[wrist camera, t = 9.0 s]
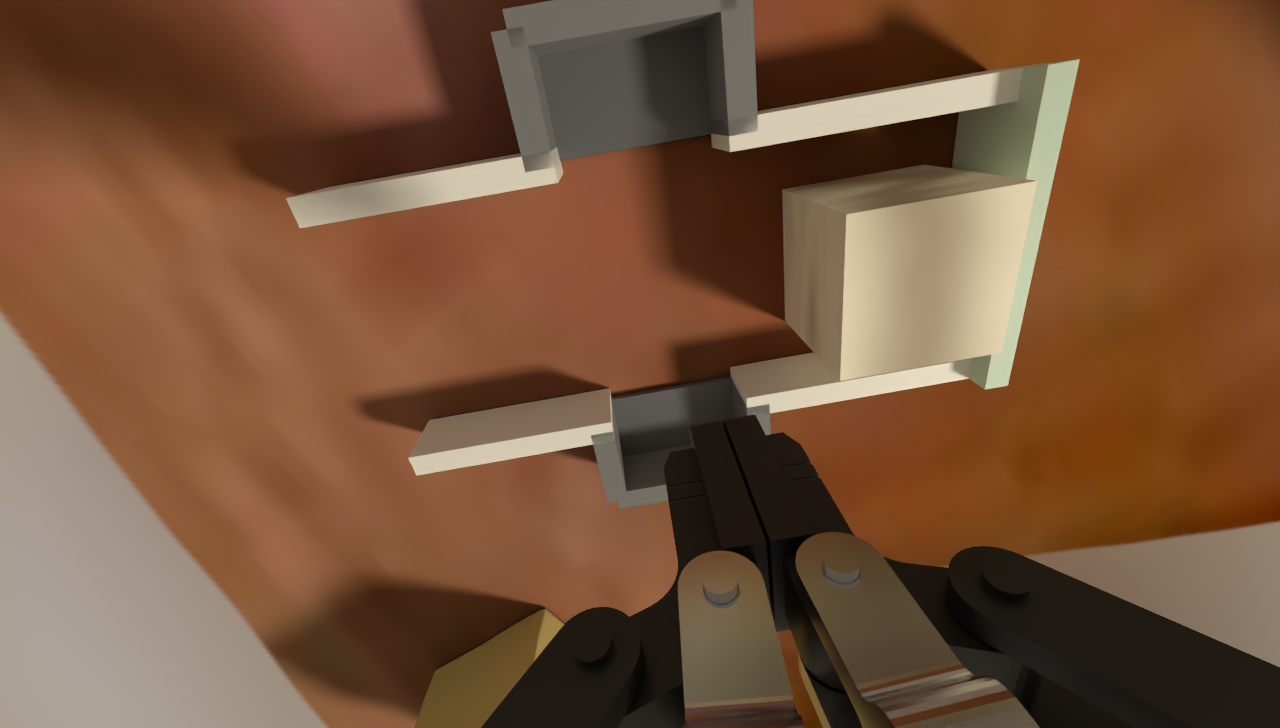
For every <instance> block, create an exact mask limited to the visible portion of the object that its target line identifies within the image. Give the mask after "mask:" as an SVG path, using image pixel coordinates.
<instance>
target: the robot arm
mask: <svg viewBox="0 0 1280 728" xmlns="http://www.w3.org/2000/svg"><path fill="white" fill-rule="evenodd" d="M689 433H690V440H691V446H692V448H690V449H684V450H678V451H673V452H670V454H669V456H668V459H667V461H666V464H665V466H664V468H663V469H664V475H665V481H666V487H667V494H668V500H669V507H670V513H671V519H672V526H673V532H674V538H675V545H676V551H677V557H678V573H677V576H676V580H675V582H674V584H673V586H672V587H671V589H670V590H669V591H668V593H667V594H666V595H665V596H664V597H663V598H662V599H660V600H659V601H658V602H657V603H655V604H653V605H652V606H650V607H648V608H646V609H644V610H642V611H640V612H638V613H636V614H634V615H632V616H630V617H629V616H628V615H626V614H625V613H623V612H622V611H619V610H617V609H614V608H609V607H597V608H592V609H588V610H585V611H583V612H581V613H579V614H577V615H576V616H574V617H572V618H571V619H570V620H569V621H568V622H566V623H565V624H564V626H563V627H562V628H561V629H560V630H559V631H558V633H557V634H556V635H555V636H554V637H553V639H552V640H551V641H550V642H549V644H548V645H547V646H546V647H545V649H544V650H543V651H542V652H541V654H540V655H539V656H538V657H537V659H536V660H535V661H534V662H533V663H532V665H531V666H530V667H529V668H528V670H527V671H526V672H525V673H524V675H523V676H522V677H521V678H520V680H519V681H518V682H517V683H516V685H515V686H514V687H513V688H512V689H511V691H510V692H509V693H508V694H507V696H506V697H505V698H504V699H503V701H502V702H501V703H500V704H499V706H498V707H497V708H496V709H495V711H494V712H493V713H492V714H491V716H490V717H489V718H488V719H487V720H486V722H485V723H484V724H483V725H482V727H481V728H805V725H804V722H803V720H802V717H801V716H800V715H799V714H798V713H797V711H796V708H795V705H794V701H793V697H792V693H791V689H790V685H789V681H788V677H787V673H786V669H785V665H784V660H783V656H782V652H781V648H780V644H779V640H778V636H777V632H778V631H784V630H790V629H791V632H792V634H793V637H794V640H795V643H796V646H797V648H798V662H799V670H800V674H801V677H802V679H803V682H804V684H805V686H806V689H807V691H808V693H809V696H810V698H811V700H812V703H813V705H814V707H815V710H816V712H817V715H818V717H819V719H820V722H821V724H822V726H823V728H1280V668H1279V667H1277V666H1275V665H1273V664H1270V663H1268V662H1266V661H1264V660H1261V659H1259V658H1257V657H1254V656H1252V655H1250V654H1247V653H1245V652H1243V651H1241V650H1238V649H1236V648H1233V647H1231V646H1229V645H1227V644H1224V643H1222V642H1220V641H1217V640H1215V639H1213V638H1211V637H1208V636H1206V635H1204V634H1201V633H1199V632H1197V631H1194V630H1192V629H1190V628H1188V627H1185V626H1183V625H1181V624H1178V623H1176V622H1174V621H1171V620H1169V619H1167V618H1165V617H1162V616H1160V615H1158V614H1155V613H1153V612H1151V611H1148V610H1146V609H1144V608H1142V607H1139V606H1137V605H1135V604H1132V603H1130V602H1128V601H1125V600H1123V599H1121V598H1118V597H1116V596H1114V595H1112V594H1109V593H1107V592H1105V591H1102V590H1100V589H1098V588H1095V587H1093V586H1091V585H1088V584H1086V583H1084V582H1082V581H1079V580H1077V579H1075V578H1072V577H1070V576H1068V575H1065V574H1063V573H1061V572H1059V571H1056V570H1054V569H1052V568H1050V567H1047V566H1045V565H1043V564H1040V563H1038V562H1036V561H1033V560H1031V559H1029V558H1027V557H1024V556H1022V555H1020V554H1017V553H1014V552H1012V551H1008V550H1005V549H1001V548H996V547H986V546H979V547H971V548H967V549H964V550H962V551H960V552H958V553H957V554H956V555H955V556H954V557H953V558H952V559H951V562H950V564H949V568H945V567H935V566H926V565H917V564H909V563H903V562H898V561H894V560H891V559H888V558H886V557H883V556H882V555H881V554H880V552H879V551H878V550H877V549H876V548H874V547H873V546H872V545H871V544H869V543H868V542H866V541H865V540H863V539H861V538H859V537H856V536H855V535H854V534H853V533H852V531H851V529H850V528H849V526H848V524H847V523H846V521H845V519H844V518H843V516H842V514H841V512H840V511H839V509H838V507H837V506H836V504H835V502H834V501H833V499H832V497H831V495H830V494H829V492H828V490H827V489H826V487H825V485H824V484H823V482H822V480H821V479H819V476H818V473H817V472H816V470H815V468H814V467H813V465H811V463H810V460H809V458H808V456H807V455H806V453H805V451H804V450H803V448H802V446H801V445H800V444H799V443H797V442H796V441H795V440H793V439H792V438H790V437H789V436H787V435H786V434H785V433H783V432H782V433H776V434H771V435H765V433H764V431H763V429H762V427H761V425H760V423H759V421H758V419H757V417H756V415H748V416H742V417H737V418H731V419H725V420H722V422H721V421H714V422H709V423H703V424H697V425H691V426H689Z"/></svg>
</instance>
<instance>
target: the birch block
mask: <svg viewBox="0 0 1280 728" xmlns="http://www.w3.org/2000/svg"><path fill="white" fill-rule="evenodd" d="M1036 185H1037V181H1035V180H1028V179H1021V178H1014V177H1007V176H1000V175H993V174H986V173H980V172H973V171H966V170H959V169H952V168H945V167H938V166H931V165H918V166H912V167H907V168H901V169H895V170H890V171H884V172H878V173H873V174H867V175H861V176H855V177H850V178H844V179H838V180H833V181H827V182H821V183H816V184H810V185H804V186H799V187H793V188H787V189H782V200H783V248H784V296H785V322H786V323H787V324H788V325H789V326H790V327H791V328H792V329H793V330H794V331H795V332H796V333H797V335H798V336H799V337H800V338H801V339H802V340H803V341H804V342H805V343H806V344H807V345H808V347H809V348H810V349H811V350H812V351H813V352H814V353H815V354H816V355H817V356H818V357H819V359H820V360H821V361H822V362H823V363H824V364H825V365H826V366H827V367H828V368H829V369H830V370H831V372H832V373H833V374H834V375H835V376H836V377H837V378H838V379H839V380H840V381H843V380H849V379H854V378H860V377H866V376H872V375H877V374H883V373H889V372H894V371H900V370H906V369H912V368H917V367H923V366H929V365H934V364H940V363H946V362H952V361H957V360H963V359H969V358H974V357H980V356H986V355H992V354H997V353H1002V350H1003V345H1004V340H1005V335H1006V330H1007V326H1008V321H1009V316H1010V311H1011V306H1012V301H1013V297H1014V292H1015V287H1016V282H1017V277H1018V272H1019V268H1020V263H1021V258H1022V253H1023V248H1024V243H1025V239H1026V234H1027V229H1028V224H1029V219H1030V214H1031V209H1032V205H1033V200H1034V195H1035V190H1036Z"/></svg>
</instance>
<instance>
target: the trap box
mask: <svg viewBox="0 0 1280 728" xmlns="http://www.w3.org/2000/svg"><path fill="white" fill-rule="evenodd" d="M502 11H503V15H504V19H505V23H506V28H507V29H506V30H500V31H495V32H491V36H492V40H493V44H494V48H495V52H496V56H497V60H498V64H499V68H500V72H501V76H502V80H503V84H504V88H505V92H506V96H507V100H508V104H509V108H510V112H511V116H512V120H513V125H514V129H515V133H516V137H517V141H518V145H519V149H520V153H518V154H513V155H507V156H501V157H496V158H490V159H484V160H479V161H473V162H467V163H462V164H456V165H451V166H445V167H439V168H434V169H428V170H422V171H417V172H411V173H405V174H400V175H394V176H388V177H383V178H377V179H371V180H366V181H360V182H355V183H349V184H343V185H338V186H332V187H327V188H323V189H320V190H316V191H312V192H308V193H304V194H300V195H297V196H293V197H289V198H286V200H287V202H288V204H289V206H290V208H291V210H292V213H293V215H294V217H295V219H296V221H297V223H298V225H299V227H300V228H305V227H310V226H316V225H322V224H327V223H333V222H339V221H344V220H350V219H356V218H361V217H367V216H372V215H378V214H384V213H389V212H395V211H401V210H406V209H412V208H418V207H423V206H429V205H435V204H440V203H446V202H452V201H457V200H463V199H469V198H474V197H480V196H486V195H491V194H497V193H502V192H508V191H514V190H519V189H525V188H531V187H536V186H542V185H548V184H553V183H558V182H559V180H560V178H561V177H562V175H563V170H562V165H561V161H562V160H568V159H573V158H579V157H585V156H590V155H596V154H602V153H607V152H613V151H619V150H624V149H630V148H636V147H641V146H647V145H653V144H658V143H664V142H670V141H675V140H681V139H686V138H692V137H698V136H703V135H709V134H711V142H712V148H716V149H720V150H724V151H727V152H734V151H740V150H746V149H751V148H757V147H762V146H768V145H774V144H779V143H785V142H791V141H796V140H802V139H808V138H813V137H819V136H825V135H830V134H836V133H842V132H847V131H853V130H859V129H864V128H870V127H876V126H881V125H887V124H893V123H898V122H904V121H909V120H915V119H921V118H926V117H932V116H938V115H943V114H949V113H955V112H959V115H958V123H957V130H956V138H955V146H954V154H953V161H952V169H959V170H966V171H973V172H980V173H986V174H993V175H1000V176H1007V177H1014V178H1021V179H1028V180H1035V181H1037V185H1036V190H1035V195H1034V200H1033V205H1032V209H1031V214H1030V219H1029V224H1028V229H1027V234H1026V239H1025V243H1024V248H1023V253H1022V258H1021V263H1020V268H1019V272H1018V277H1017V282H1016V287H1015V292H1014V297H1013V301H1012V306H1011V311H1010V316H1009V321H1008V326H1007V330H1006V335H1005V340H1004V345H1003V350H1002V353H997V354H992V355H986V356H980V357H974V358H969V359H963V360H957V361H952V362H946V363H940V364H934V365H929V366H923V367H917V368H912V369H906V370H900V371H894V372H889V373H883V374H877V375H872V376H866V377H860V378H854V379H849V380H843V381H840V380H839V379H838V378H837V377H836V376H835V375H834V374H833V373H832V372H831V370H830V369H829V368H828V367H827V366H826V365H825V364H824V363H823V362H822V361H821V360H820V359H819V357H818V356H817V355H816V354H815V353H814V352H813V353H807V354H801V355H795V356H790V357H784V358H778V359H773V360H767V361H761V362H756V363H750V364H744V365H739V366H733V367H730V375H731V376H727V377H721V378H716V379H710V380H704V381H699V382H693V383H687V384H681V385H676V386H670V387H664V388H659V389H653V390H647V391H642V392H636V393H630V394H625V395H619V396H613V397H611V393H610V388H608V389H602V390H597V391H591V392H585V393H580V394H574V395H568V396H563V397H557V398H551V399H546V400H540V401H534V402H529V403H523V404H517V405H511V406H506V407H500V408H494V409H489V410H483V411H477V412H472V413H466V414H460V415H455V416H449V417H443V418H438V419H432V420H429V421H428V423H427V425H426V427H425V429H424V430H423V432H422V434H421V436H420V438H419V439H418V441H417V443H416V445H415V447H414V448H413V450H412V452H411V454H410V456H409V457H408V458H409V461H410V463H411V465H412V467H413V469H414V471H415V473H416V475H422V474H428V473H434V472H439V471H445V470H451V469H456V468H462V467H468V466H474V465H479V464H485V463H491V462H496V461H502V460H508V459H513V458H519V457H525V456H530V455H536V454H542V453H547V452H553V451H559V450H565V449H570V448H576V447H582V446H587V445H593V446H594V450H595V454H596V458H597V462H598V466H599V470H600V475H601V479H602V483H603V487H604V491H605V495H606V499H607V503H611V502H616V501H618V504H619V508H620V509H622V508H628V507H634V506H639V505H645V504H651V503H657V502H662V501H668V494H667V487H666V481H665V475H664V469H663V468H664V466H665V464H666V461H667V459H668V456H669V454H670V452H673V451H678V450H684V449H690V448H692V446H691V440H690V433H689V426H691V425H697V424H703V423H709V422H714V421H721V422H722V420H725V419H731V418H737V417H742V416H748V415H756V417H757V419H758V421H759V423H760V425H761V427H762V429H763V431H764V433H765V435H771V431H770V413H775V412H781V411H786V410H792V409H798V408H803V407H809V406H815V405H820V404H826V403H832V402H837V401H843V400H849V399H855V398H860V397H866V396H872V395H877V394H883V393H889V392H894V391H900V390H906V389H911V388H917V387H923V386H928V385H934V384H940V383H946V382H951V381H957V380H963V379H968V378H969V379H970V380H972V381H973V382H975V383H976V384H978V385H979V386H980V387H982V388H983V389H991V388H996V387H1002V386H1008V383H1009V378H1010V373H1011V369H1012V364H1013V360H1014V355H1015V351H1016V346H1017V342H1018V337H1019V333H1020V328H1021V324H1022V319H1023V314H1024V310H1025V305H1026V301H1027V296H1028V292H1029V287H1030V283H1031V278H1032V274H1033V269H1034V265H1035V260H1036V255H1037V251H1038V246H1039V242H1040V237H1041V233H1042V228H1043V224H1044V219H1045V215H1046V210H1047V206H1048V201H1049V196H1050V192H1051V187H1052V183H1053V178H1054V174H1055V169H1056V165H1057V160H1058V156H1059V151H1060V147H1061V142H1062V137H1063V133H1064V128H1065V124H1066V119H1067V115H1068V110H1069V106H1070V101H1071V97H1072V92H1073V88H1074V83H1075V78H1076V74H1077V69H1078V65H1079V60H1080V59H1078V60H1069V61H1061V62H1053V63H1044V64H1036V65H1028V66H1019V67H1011V68H1003V69H994V70H987V71H981V72H976V73H970V74H965V75H959V76H953V77H948V78H942V79H936V80H931V81H925V82H919V83H914V84H908V85H902V86H897V87H891V88H885V89H880V90H874V91H868V92H863V93H857V94H852V95H846V96H840V97H835V98H829V99H823V100H818V101H812V102H806V103H801V104H795V105H789V106H784V107H778V108H772V109H767V110H761V111H757V88H756V64H755V39H754V15H753V0H551V1H546V2H540V3H535V4H529V5H523V6H518V7H512V8H506V9H502Z"/></svg>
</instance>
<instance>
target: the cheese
mask: <svg viewBox="0 0 1280 728" xmlns="http://www.w3.org/2000/svg"><path fill="white" fill-rule="evenodd" d="M563 626H564V624H563V623H562V622H561V621H560V620H558V619H557V618H556V617H555V616H554V615H552V614H551V613H550V612H549V611H548V610H547V609H542V610H540V611H538V612H536V613H534V614H532V615H530V616H528V617H526V618H525V619H523V620H521V621H519V622H518V623H516V624H514V625H513V626H511V627H509V628H508V629H506V630H505V631H503V632H501V633H500V634H498V635H497V636H495V637H493V638H492V639H490V640H489V641H487V642H485V643H484V644H482V645H480V646H478V647H477V648H475V649H473V650H471V651H470V652H468V653H466V654H464V655H462V656H460V657H459V658H457V659H455V660H453V661H451V662H449V663H448V664H446V665H444V666H442V667H440V668H439V669H437V670H436V671H435V673H434V675H433V677H432V680H431V683H430V685H429V688H428V690H427V693H426V695H425V698H424V701H423V704H422V707H421V710H420V713H419V716H418V719H417V722H416V725H415V728H481V727H482V725H483V724H484V723H485V722H486V720H487V719H488V718H489V717H490V716H491V714H492V713H493V712H494V711H495V709H496V708H497V707H498V706H499V704H500V703H501V702H502V701H503V699H504V698H505V697H506V696H507V694H508V693H509V692H510V691H511V689H512V688H513V687H514V686H515V685H516V683H517V682H518V681H519V680H520V678H521V677H522V676H523V675H524V673H525V672H526V671H527V670H528V668H529V667H530V666H531V665H532V663H533V662H534V661H535V660H536V659H537V657H538V656H539V655H540V654H541V652H542V651H543V650H544V649H545V647H546V646H547V645H548V644H549V642H550V641H551V640H552V639H553V637H554V636H555V635H556V634H557V633H558V631H559V630H560V629H561V628H562V627H563Z"/></svg>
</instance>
